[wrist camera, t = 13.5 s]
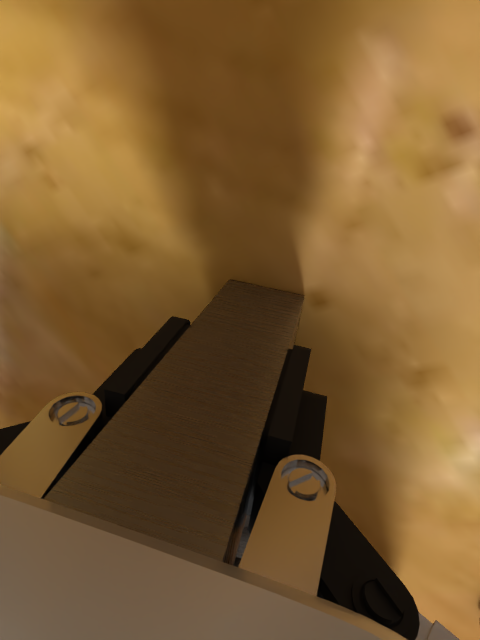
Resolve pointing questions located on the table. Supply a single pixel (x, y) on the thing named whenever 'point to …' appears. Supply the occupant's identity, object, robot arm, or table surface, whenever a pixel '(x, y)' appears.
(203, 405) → the hoe
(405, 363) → the table surface
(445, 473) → the table surface
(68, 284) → the table surface
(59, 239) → the table surface
